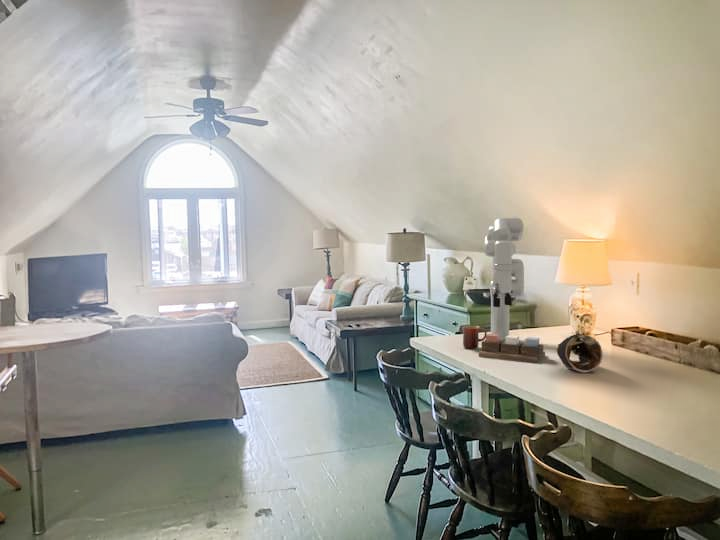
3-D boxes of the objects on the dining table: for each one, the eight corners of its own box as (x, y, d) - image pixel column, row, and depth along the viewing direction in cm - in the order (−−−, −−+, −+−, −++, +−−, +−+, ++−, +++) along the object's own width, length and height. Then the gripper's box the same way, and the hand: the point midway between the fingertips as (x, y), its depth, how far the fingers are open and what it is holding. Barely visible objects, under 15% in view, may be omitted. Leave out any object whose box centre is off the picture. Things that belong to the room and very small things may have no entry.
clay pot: (580, 332, 246) (600, 331, 221) (586, 366, 244) (607, 370, 219) (546, 336, 246) (562, 336, 222) (552, 370, 244) (569, 374, 220)
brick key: (489, 341, 259) (489, 333, 258) (499, 343, 256) (499, 334, 256) (485, 343, 254) (485, 335, 254) (496, 344, 252) (496, 336, 252)
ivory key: (508, 343, 254) (508, 335, 254) (519, 344, 252) (519, 336, 251) (505, 345, 250) (505, 337, 250) (516, 346, 247) (516, 338, 247)
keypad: (489, 349, 265) (489, 337, 264) (545, 355, 251) (545, 342, 251) (478, 356, 251) (478, 343, 250) (537, 363, 238) (537, 349, 237)
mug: (462, 349, 266) (462, 328, 265) (460, 345, 274) (461, 325, 274) (487, 350, 265) (487, 328, 264) (485, 346, 273) (485, 325, 273)
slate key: (527, 345, 250) (528, 337, 249) (539, 347, 247) (539, 338, 247) (525, 347, 245) (525, 338, 245) (536, 349, 243) (536, 340, 242)
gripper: (505, 267, 258) (504, 303, 259) (485, 268, 246) (484, 306, 246) (520, 268, 252) (519, 305, 253) (500, 269, 240) (499, 308, 241)
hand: (502, 306), depth 250 cm, fingers open, 9 cm apart
